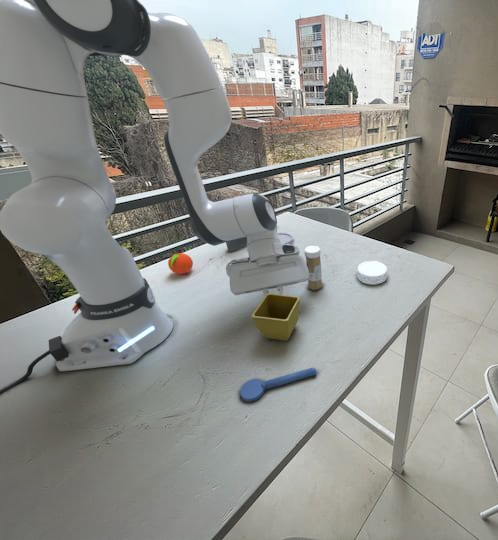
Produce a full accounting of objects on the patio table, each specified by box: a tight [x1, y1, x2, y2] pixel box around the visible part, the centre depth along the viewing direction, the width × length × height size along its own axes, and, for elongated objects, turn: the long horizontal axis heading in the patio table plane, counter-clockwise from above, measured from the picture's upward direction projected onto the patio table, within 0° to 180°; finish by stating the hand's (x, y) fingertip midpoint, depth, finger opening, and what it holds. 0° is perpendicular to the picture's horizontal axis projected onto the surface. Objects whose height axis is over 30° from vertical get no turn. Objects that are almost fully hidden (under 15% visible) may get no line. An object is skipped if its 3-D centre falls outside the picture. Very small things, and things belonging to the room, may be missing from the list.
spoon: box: [239, 367, 317, 403], centre depth 60 cm, size 16×5×2 cm, turn 111°
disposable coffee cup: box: [277, 232, 295, 245], centre depth 94 cm, size 10×10×12 cm
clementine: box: [167, 252, 194, 275], centre depth 93 cm, size 8×7×7 cm
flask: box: [225, 237, 247, 253], centre depth 108 cm, size 4×14×18 cm, turn 148°
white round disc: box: [356, 260, 388, 286], centre depth 94 cm, size 10×10×4 cm
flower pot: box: [251, 293, 301, 342], centre depth 70 cm, size 9×9×9 cm
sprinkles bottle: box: [304, 245, 323, 291], centre depth 86 cm, size 5×5×13 cm
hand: (275, 304), depth 74 cm, fingers closed
